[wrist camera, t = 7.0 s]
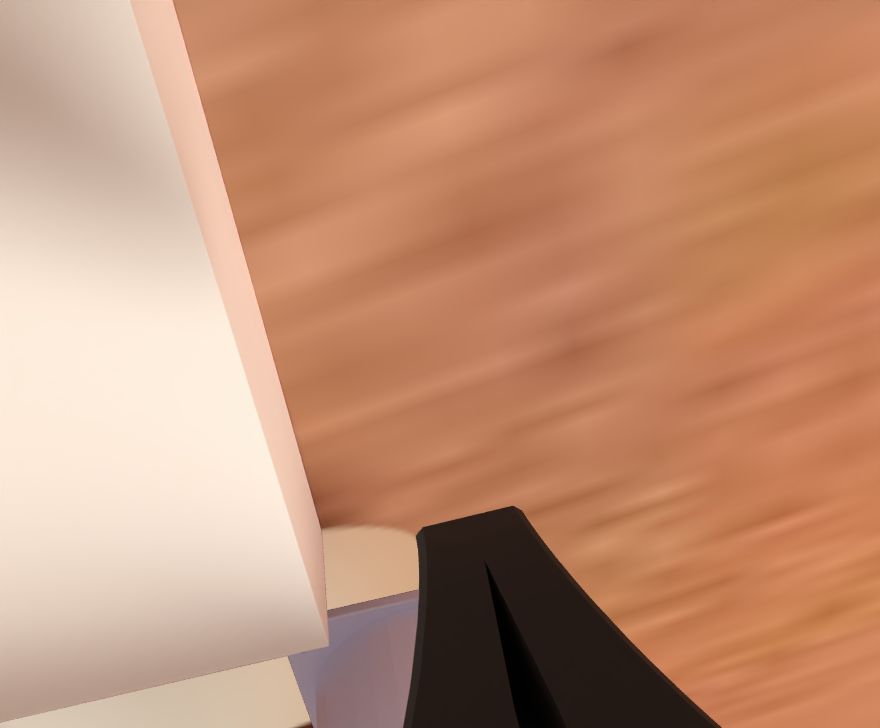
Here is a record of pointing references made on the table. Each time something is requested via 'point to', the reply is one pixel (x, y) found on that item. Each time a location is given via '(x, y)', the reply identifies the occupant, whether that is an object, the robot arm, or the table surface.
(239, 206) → the table surface
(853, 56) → the table surface
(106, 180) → the slot board
